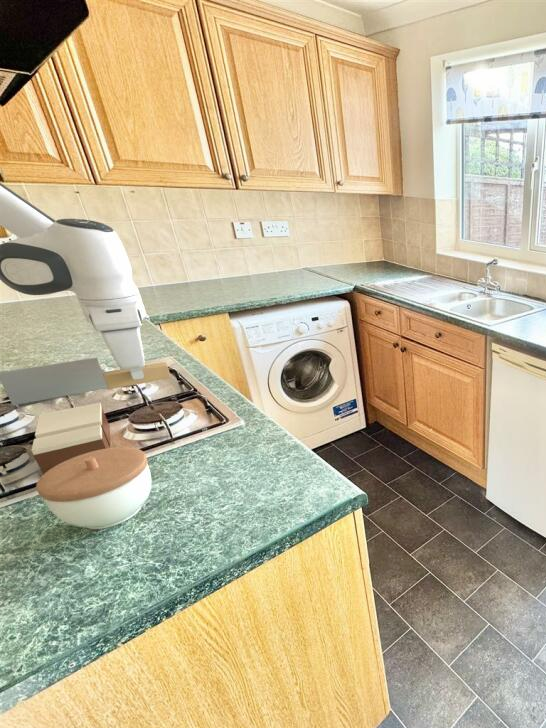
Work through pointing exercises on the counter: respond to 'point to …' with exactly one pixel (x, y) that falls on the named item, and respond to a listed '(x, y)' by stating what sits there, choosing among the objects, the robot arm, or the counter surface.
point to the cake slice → (67, 446)
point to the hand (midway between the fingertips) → (137, 374)
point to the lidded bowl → (97, 487)
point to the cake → (72, 420)
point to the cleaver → (71, 379)
